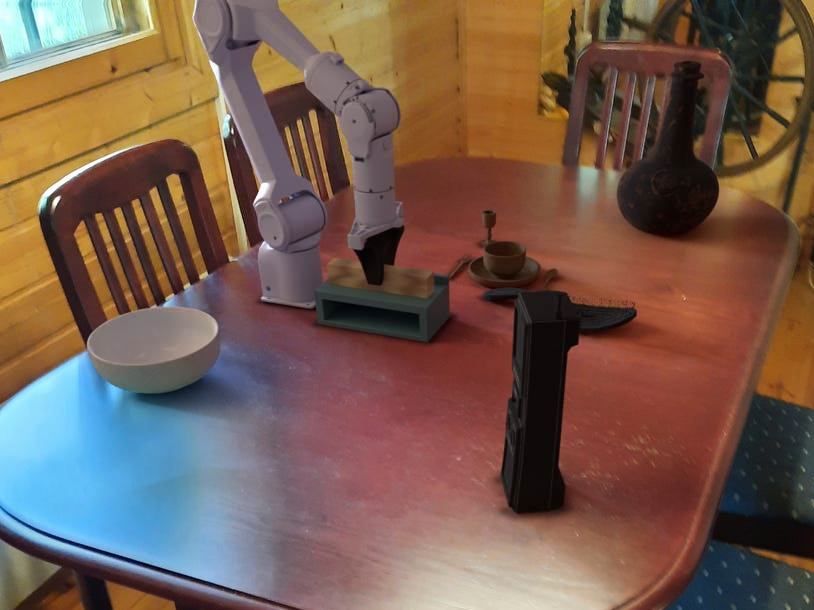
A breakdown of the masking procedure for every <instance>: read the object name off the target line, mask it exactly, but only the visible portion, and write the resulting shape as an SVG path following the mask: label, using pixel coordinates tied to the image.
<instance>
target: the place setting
mask: <svg viewBox="0 0 814 610" xmlns="http://www.w3.org/2000/svg"><path fill="white" fill-rule="evenodd" d="M481 218H482V219H481V220H482V226H483V227H484V228H485V229H486V234H485V238H486V240H484V241H481V242H480V245H481V246H482V247H483V255H481V256H478V257H475V258H474V259H473V260H471V258H472V256H473V253H467V252H465V253H464V255H463V257H462V259H461V260H460V263H459V264H458V265H457V266H456V267H455V268H454V270H453V271H452V272H451V273H450V274H449V279H451V278H453V277H454V276H455V274H456V273H457V272H458V270H460V269H461V267H462V266H463V264H467V263H469V264H468V266H467V270H468V271H467V272H468V275H469V276H470V278H471V279H472V280H473V281H475V282H476V283H478V284H480V285H482V286H484V287H488V288H493V289H498V288H510V287H512V288H521V287H524V286H527V285H529V284H531V283H533V282H534V281H536V280H537V279H538V277H539V276H540V273H541V264H540V263H539V261H537V260H536V259H534V258H532V257H530V256H527V248H526V246H525V245H523V243H519V242H517V241H516V242H515V241H509V240H498V241H494V240H492V237H493V234H492V229H493V228H495V227H496V225H497V211H496V210H494V209H485V210H483V211H482V216H481ZM470 260H471V261H470ZM558 274H559V271H558V269H557V268H556V267H555V268H551V269H548V270H547V271H546V273H545V276H546V279H545V281H544V282H543V284H542V285H541V287H540V288H539V291H545V289H546V287H547V285H548V283H549V282H550V280H552V279H554V278H556V277H557V276H558Z"/></svg>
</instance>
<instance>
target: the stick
mask: <svg viewBox="0 0 814 610" xmlns="http://www.w3.org/2000/svg"><path fill="white" fill-rule="evenodd" d="M326 267H327V268H326V269H327V279H328V280H329V284H332V285H339V286H346V287H352V288H359V289H366V290H372V291H379V292H386V293H392V294H399V295H406V296H412V297H419V298H426V299H428V298H429V297H430V296H431V295H432V294H433V293H434V273H435V272H434V270H428V269H421V268H413V267H406V266H401V265H400V266H399V265H394V266H393V265H385V264H384V278H383V283H382V285H381V286H377V285H370V284H368V283H367V280H366V277H365V274H364V271H363V268H362V265H361V263H360V261H359V260H355V259H348V258H342V257H333V258H332V259H331V260H329V261H328V262H327V263H326Z"/></svg>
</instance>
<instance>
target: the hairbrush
mask: <svg viewBox="0 0 814 610" xmlns="http://www.w3.org/2000/svg"><path fill="white" fill-rule="evenodd" d="M529 291H530V290H528V289H523V288H519V287H517V288H512V287H510V288H493V289H489V290H486V291H484V292H483V299H485V300H488V301H515V300H516V298H518V294H519V292H529ZM568 296H569V298H570V297H571V295H569V294H568ZM575 300H576V296H573V298H572V300H571V302H572V304H573V306H574V308H575V310H576V312H577V314H578V316H579V318H580V333H579V334H601V333H603V332H607V331H611V330H615V329H618V328H620V327H622V326H624V325H627V324H628V323H630V322H632V321H633V320H634V319H635V318H636V317H637V316H638V314H637V313H638V309H636V308H635V305H636V302H633V301H631V300H630V301H629V303H631V304H629V306H628V305H627V303H628V300H625V303H624V301H622V302H621V303H622V304H620V303H619V302H620V300H617V303H618V304H617V303H613V302H611V301H612V300H611V299H609V300H608V302H606V300H605V299H604V300H603V299H600V303H599V304H598V305H596V304H595V301H594V298H592V300H591V303H589V304H586V303H588V300H585V297H582V300H581V297H579V301H578V303H577V302H575ZM580 300H581V301H580ZM585 301H586V303H585ZM593 301H594V303H593ZM580 302H581V303H580ZM603 302H606V303H605V304H603ZM605 305H607V306H605ZM614 305H615V306H614ZM621 305H622V306H621ZM631 305H633V306H631ZM624 306H626V307H624Z"/></svg>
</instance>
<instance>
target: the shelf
mask: <svg viewBox="0 0 814 610" xmlns="http://www.w3.org/2000/svg"><path fill="white" fill-rule="evenodd" d="M449 276H450V274H442V273H435V272H434V293H433V294H432V295H431V296H430V297H429V298H428V299H426V298H419V297H412V296H406V295H399V294H392V293H386V292H379V291H372V290H366V289H359V288H352V287H346V286H339V285H332V284H329V280H328V278H327V279H326V280H325V281H323V282H324V283H322V284H321V285H320V286H319V287H318V288H316V289H315V290H314V294H315V303H316V307H315V309H316V311H315V312H316V319H317V325H322V326H327V327H334V328H340V329H345V330H351V331H357V332H364V333H367V334H368V333H369V334H375V335H381V336H387V337H394V338H397V339H398V338H400V339H404V340H411V341H417V342H422V343H429V342H430V340H432V338H433V337H434V335H436V333H437V332H438V331H439V330H440V329H441V328H442V326H443V325H444V324H445V323H446V322H447V321H448V319H449V318H450V317H451V316H450V311H451V310H450V309H451V308H450V307H451V306H450V278H449Z"/></svg>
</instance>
